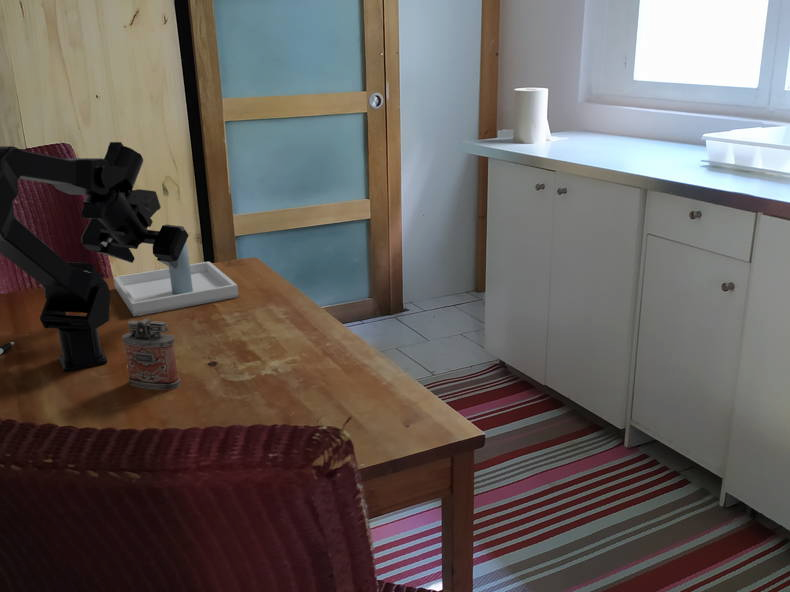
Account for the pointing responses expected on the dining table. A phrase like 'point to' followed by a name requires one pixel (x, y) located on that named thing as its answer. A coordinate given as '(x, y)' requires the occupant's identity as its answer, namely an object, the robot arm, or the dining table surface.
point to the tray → (156, 292)
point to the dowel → (181, 274)
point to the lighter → (151, 356)
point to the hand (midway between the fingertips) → (154, 263)
